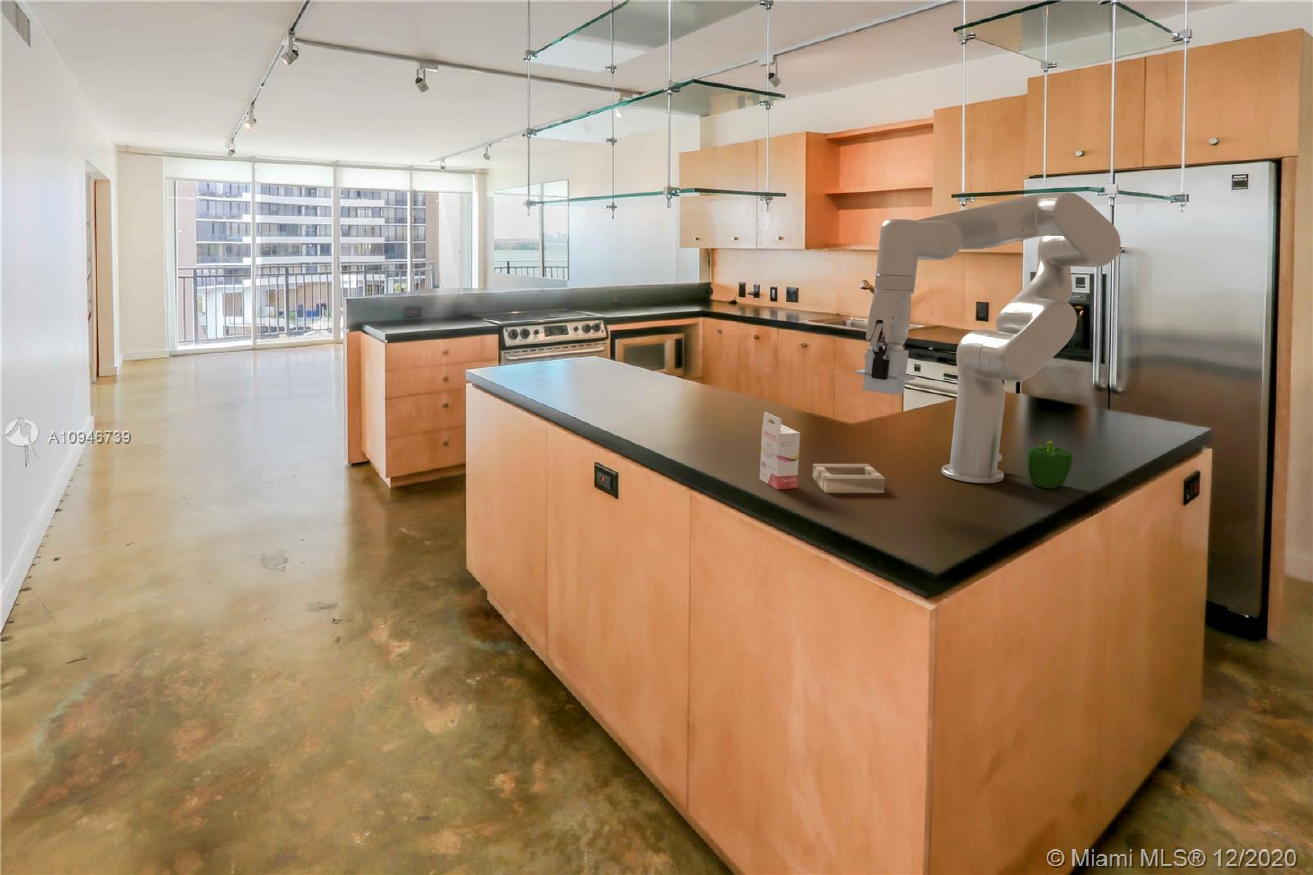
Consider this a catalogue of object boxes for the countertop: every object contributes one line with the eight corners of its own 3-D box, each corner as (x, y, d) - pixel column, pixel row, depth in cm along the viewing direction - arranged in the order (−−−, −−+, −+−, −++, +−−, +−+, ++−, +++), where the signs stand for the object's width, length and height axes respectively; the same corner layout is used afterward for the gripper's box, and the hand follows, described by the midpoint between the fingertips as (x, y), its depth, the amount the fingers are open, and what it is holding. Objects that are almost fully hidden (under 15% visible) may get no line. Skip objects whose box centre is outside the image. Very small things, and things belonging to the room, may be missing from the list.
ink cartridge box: (798, 488, 160) (802, 418, 157) (776, 490, 159) (780, 419, 155) (779, 477, 168) (783, 409, 165) (758, 478, 167) (761, 410, 163)
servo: (862, 386, 163) (867, 341, 161) (913, 394, 156) (919, 346, 154) (853, 388, 160) (858, 342, 158) (905, 396, 153) (910, 347, 151)
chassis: (812, 477, 168) (812, 463, 168) (867, 477, 169) (868, 463, 168) (825, 492, 158) (826, 478, 157) (884, 492, 158) (885, 478, 157)
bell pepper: (1037, 477, 170) (1043, 433, 168) (1075, 487, 164) (1081, 441, 161) (1015, 483, 166) (1021, 437, 164) (1052, 493, 159) (1059, 446, 157)
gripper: (894, 284, 162) (884, 372, 166) (857, 283, 149) (847, 379, 153) (929, 286, 157) (918, 376, 161) (895, 285, 145) (884, 384, 149)
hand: (884, 376), depth 157 cm, fingers closed on servo, 4 cm apart
